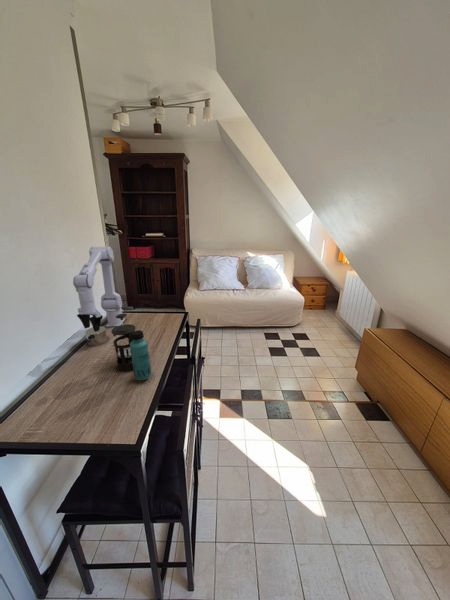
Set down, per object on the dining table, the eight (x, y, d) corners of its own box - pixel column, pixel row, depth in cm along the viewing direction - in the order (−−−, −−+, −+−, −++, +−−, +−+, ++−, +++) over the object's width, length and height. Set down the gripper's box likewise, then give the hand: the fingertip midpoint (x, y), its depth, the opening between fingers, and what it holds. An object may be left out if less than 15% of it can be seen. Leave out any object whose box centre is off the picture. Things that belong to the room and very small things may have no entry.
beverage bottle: (131, 380, 95) (123, 334, 88) (143, 371, 101) (137, 326, 94) (143, 385, 92) (136, 338, 86) (156, 375, 98) (150, 330, 91)
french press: (135, 373, 100) (127, 320, 92) (112, 372, 100) (102, 320, 92) (145, 356, 111) (138, 308, 103) (124, 356, 111) (116, 308, 103)
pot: (93, 335, 130) (91, 325, 128) (111, 335, 130) (109, 324, 128) (83, 347, 119) (80, 336, 117) (102, 346, 119) (100, 335, 117)
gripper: (69, 301, 112) (74, 329, 115) (87, 305, 104) (93, 335, 108) (84, 297, 117) (89, 324, 121) (103, 301, 110) (107, 329, 114)
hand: (92, 329), depth 115 cm, fingers open, 7 cm apart
